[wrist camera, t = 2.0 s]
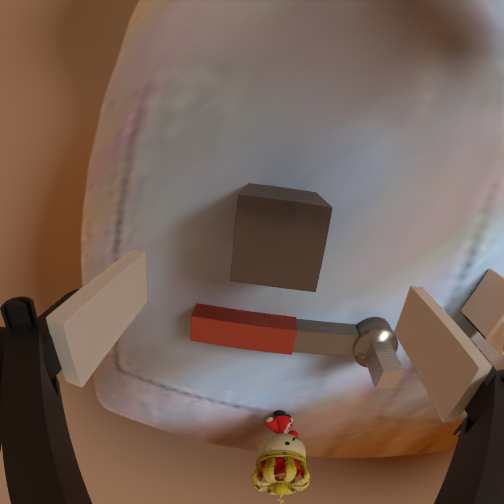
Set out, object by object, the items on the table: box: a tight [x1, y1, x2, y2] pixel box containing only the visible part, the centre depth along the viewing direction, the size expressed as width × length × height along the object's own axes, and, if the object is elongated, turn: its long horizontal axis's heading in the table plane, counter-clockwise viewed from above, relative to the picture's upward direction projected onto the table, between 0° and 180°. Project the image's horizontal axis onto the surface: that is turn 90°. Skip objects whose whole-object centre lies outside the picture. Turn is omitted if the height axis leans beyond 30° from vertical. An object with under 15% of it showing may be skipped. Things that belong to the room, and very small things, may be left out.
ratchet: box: [191, 304, 404, 389], centre depth 28 cm, size 23×5×8 cm, turn 83°
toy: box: [251, 410, 310, 504], centre depth 30 cm, size 7×7×15 cm
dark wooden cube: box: [230, 183, 332, 292], centre depth 24 cm, size 6×6×8 cm
